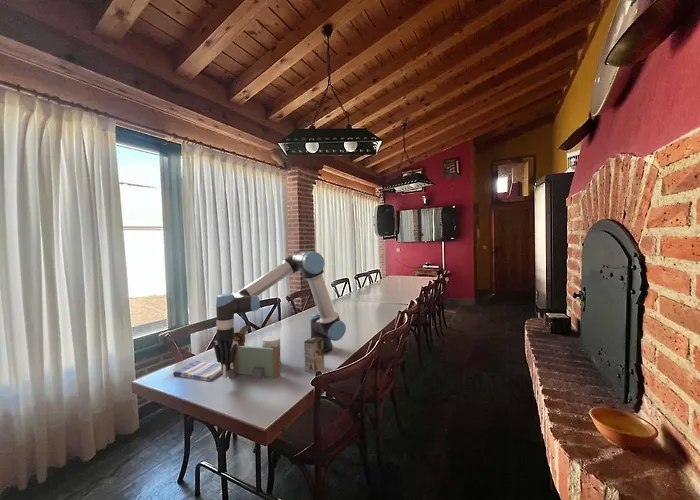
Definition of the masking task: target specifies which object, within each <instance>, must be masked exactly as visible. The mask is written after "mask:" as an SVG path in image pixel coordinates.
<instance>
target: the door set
mask: <svg viewBox="0 0 700 500" xmlns="http://www.w3.org/2000/svg"><path fill="white" fill-rule="evenodd" d="M235 342H236V341H235ZM236 343H238V342H236ZM232 345H233V344H232ZM232 345H231V351H232ZM233 368H235V375H237V374H239V375H249V376H251V379H254V380H256V379H257V380H262V379H263V378H264V377H270V378H271V377H272V378H273V379H275V380H276V379H278V378H280V376H281V343H280V344H275V345H274V346H273V348H263V347H262V346H261V347H259V346H258V347H257V346H247V345H245V346H238V347H237V351H236V355H235V359H234V362H233ZM227 378H229V376H228V377H227Z"/></svg>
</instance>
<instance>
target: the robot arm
mask: <svg viewBox="0 0 700 500" xmlns="http://www.w3.org/2000/svg"><path fill="white" fill-rule="evenodd" d="M324 266H325V259H324V257H323V255H322V254H321V253H320V252H317V251H314V250H299V251H296V252H294V253H293V254H290V255H289V256H288V257H286V258H284V259H283V260H282V262H281V263H280V264H279V265H277V266H275V267H273V269H271V270H269V271H268V272H266V273H265V274H263V275H262V276H260V277H258V278H257V279H256V280H254V281H253V282H251V283H249V284H247V286H245V287H243V288H241V289H240V290H238V291H237V290H236V291H233V292H231V293H221V294H218V295H217V296H216V301H215V302H216V304H215V307H216V310H215V311H216V313H215V314H216V322H215V323H216V327H215V328H216V337H217V338H216V340H214V341H213V342H212V343H211V344H212V346H213V349H214V354H215V357H216V361H217V362H216V363H217V364H221V370H222V371H223V373H222V379H227V378H229V377H228V376H229V369H230V364H231V363H232V362H234V359H235V355H236V351H237V347H238V345H239V343H236V342H235V339H234V333H235V314H244V313H251V312H256V311H258V310H259V309H260V306H261V302H260V301H261V300H260V298H259V296H260V295H261V294H263V293H264V292H265V291H267V290H269V289H270V288H271V287H273V286H274V285H276V284H278V283H279V282H280V281H282V280H284V279H285V278H286V277H288V276H289V275H290V276H292V275H294V274H295V273H297V272H301V274H302V276H303V279H305V280H306V281H307V282H308V285H309V289H310V291H311V294H312V297H313V300H314V302H315V305H316V309H317V311H318V312H314V313H311V315H310V319H309V320H310V338H312V337H314V336H315V337H321V338H324V355H325V354H328V353H331V352H332V351H333V349H334V348H333V347H334V346H333V345H334V344H333V342H332V341H334V342H336V341H339V340H341V339H342V338H343V337H344V335H345V333H346V329H347V328H346V327H347V326H346V323H345V322H343V321H342V320H341V319H340V316H339V314H338V313H337V312H336V311H335V310H334V306H333V303H332V301H331V297H330V294H329V291H328V288H327V285H326V281H325V279H324V276H323V275H324V273H325V270H324ZM232 344H233V345H232ZM231 345H232V351H231Z"/></svg>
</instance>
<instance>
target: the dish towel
mask: <svg viewBox="0 0 700 500" xmlns="http://www.w3.org/2000/svg"><path fill="white" fill-rule="evenodd" d="M221 374H223V371H222V370H221V363H218V362H216V363H215V362H208V361H206V362H205V361H199V360H195V361H193V362H191V363H188V364H186V365H185V366H183V367H181V368H180V369H177V370H175V371H173V376H178V377H182V378H187V379H188V378H189V379H192V380H197V381H205V382H210V381H212V380H214V379H215V378H217V377H218V376H220V375H221Z"/></svg>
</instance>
